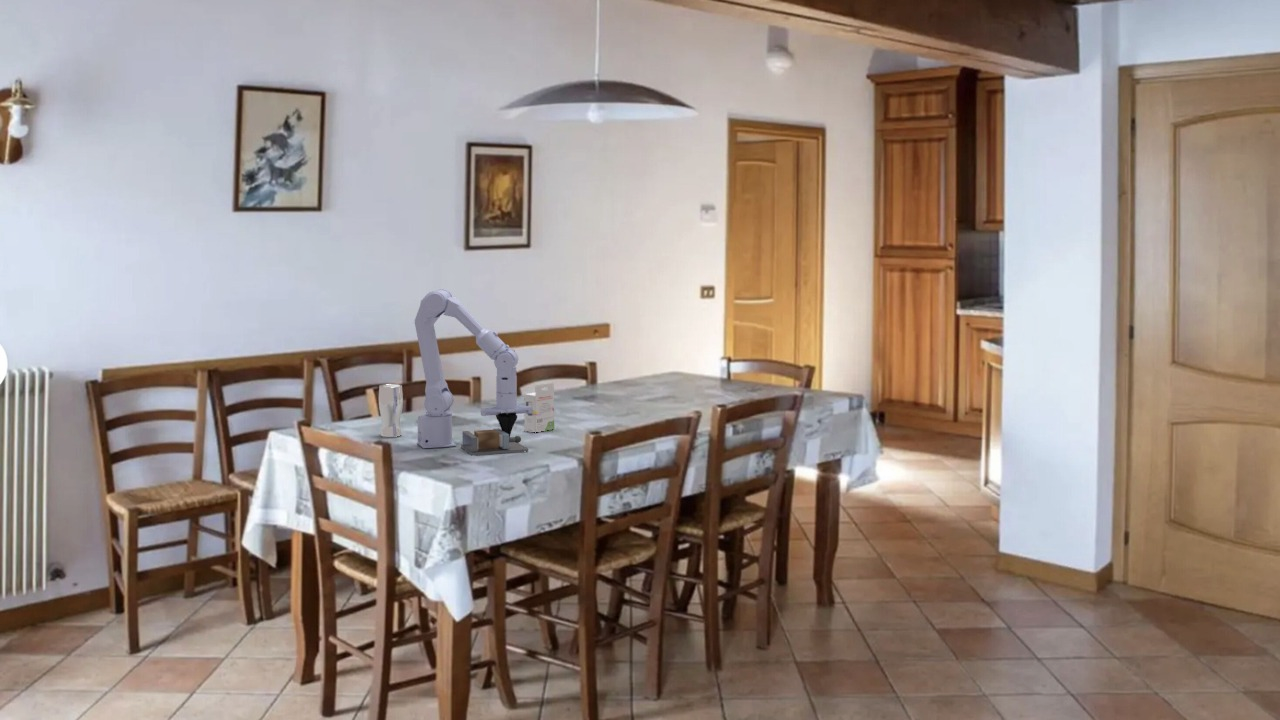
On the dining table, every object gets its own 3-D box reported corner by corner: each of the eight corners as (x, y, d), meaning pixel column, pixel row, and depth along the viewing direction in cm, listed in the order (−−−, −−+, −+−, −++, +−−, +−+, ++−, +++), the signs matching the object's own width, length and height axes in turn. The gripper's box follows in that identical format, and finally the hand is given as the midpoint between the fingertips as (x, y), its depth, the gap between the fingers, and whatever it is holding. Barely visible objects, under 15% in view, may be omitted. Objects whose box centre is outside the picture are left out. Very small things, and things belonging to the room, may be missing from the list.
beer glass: (374, 435, 337) (373, 385, 335) (394, 432, 342) (393, 383, 340) (388, 439, 332) (387, 388, 330) (407, 435, 337) (407, 385, 335)
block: (478, 449, 316) (478, 433, 315) (474, 446, 319) (474, 430, 319) (499, 447, 318) (499, 432, 317) (494, 445, 322) (494, 429, 321)
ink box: (543, 427, 354) (543, 380, 352) (554, 429, 351) (555, 382, 349) (523, 431, 347) (523, 383, 345) (535, 433, 344) (535, 385, 342)
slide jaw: (502, 449, 315) (502, 435, 315) (491, 442, 324) (491, 428, 324) (522, 447, 318) (522, 433, 317) (511, 441, 327) (511, 427, 326)
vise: (472, 455, 311) (472, 438, 310) (460, 447, 322) (460, 430, 321) (528, 451, 317) (528, 434, 317) (515, 443, 328) (515, 427, 328)
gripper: (485, 395, 315) (485, 443, 316) (535, 393, 320) (535, 440, 322) (478, 391, 321) (478, 439, 323) (527, 389, 327) (527, 436, 329)
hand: (506, 439), depth 323 cm, fingers closed
